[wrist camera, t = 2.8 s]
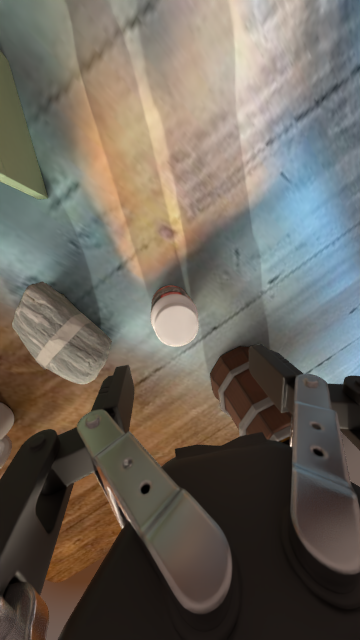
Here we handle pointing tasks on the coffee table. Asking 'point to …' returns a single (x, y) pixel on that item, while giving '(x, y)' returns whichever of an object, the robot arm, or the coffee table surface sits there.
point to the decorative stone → (60, 335)
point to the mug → (247, 398)
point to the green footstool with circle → (16, 140)
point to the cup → (5, 432)
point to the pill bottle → (174, 316)
